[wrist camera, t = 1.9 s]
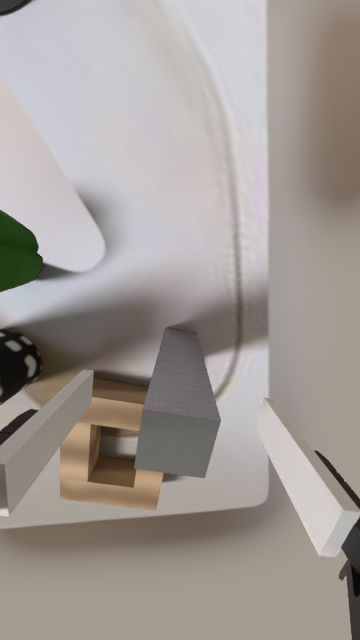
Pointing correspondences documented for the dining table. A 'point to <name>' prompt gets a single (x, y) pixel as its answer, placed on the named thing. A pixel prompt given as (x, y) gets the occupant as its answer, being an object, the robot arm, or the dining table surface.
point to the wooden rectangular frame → (101, 472)
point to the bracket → (178, 410)
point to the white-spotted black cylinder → (17, 363)
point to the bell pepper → (17, 254)
